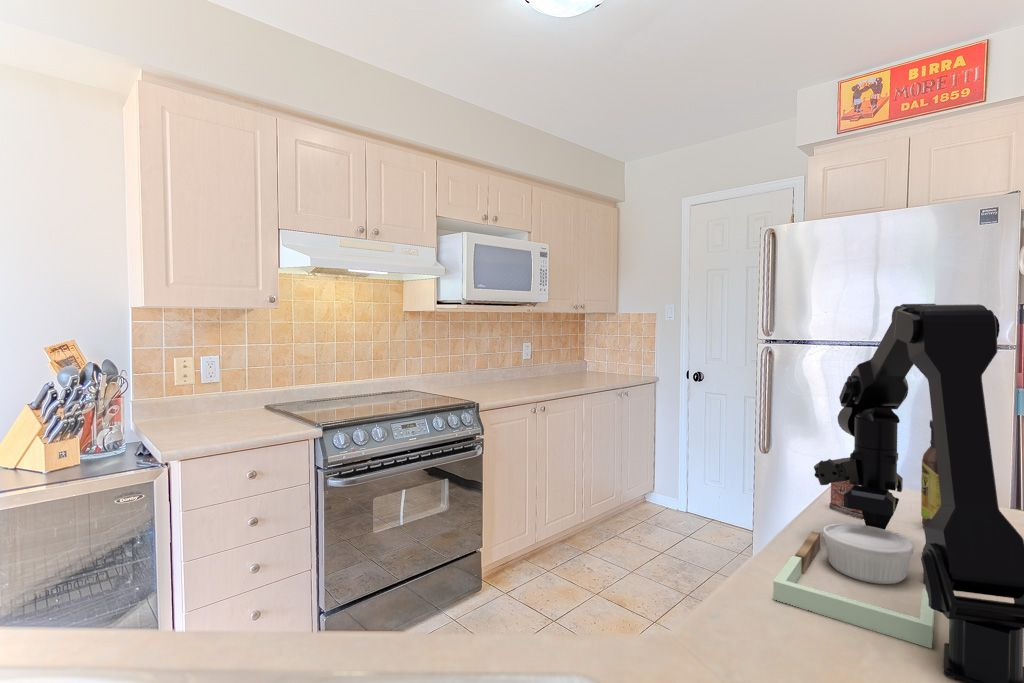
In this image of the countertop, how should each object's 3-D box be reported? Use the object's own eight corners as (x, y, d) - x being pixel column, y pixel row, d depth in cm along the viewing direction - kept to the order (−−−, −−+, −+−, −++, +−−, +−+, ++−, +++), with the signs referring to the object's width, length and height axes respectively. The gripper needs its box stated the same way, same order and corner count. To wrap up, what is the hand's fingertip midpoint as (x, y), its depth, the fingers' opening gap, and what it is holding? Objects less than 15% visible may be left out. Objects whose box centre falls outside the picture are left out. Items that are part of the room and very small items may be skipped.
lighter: (877, 518, 99) (877, 466, 99) (864, 521, 98) (865, 468, 98) (836, 505, 107) (837, 457, 107) (825, 507, 106) (826, 458, 106)
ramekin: (829, 548, 86) (830, 517, 86) (915, 569, 79) (915, 534, 79) (815, 572, 77) (815, 537, 77) (909, 597, 70) (910, 558, 70)
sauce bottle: (926, 521, 98) (928, 416, 98) (969, 531, 93) (972, 420, 93) (916, 529, 94) (918, 419, 94) (961, 540, 89) (963, 424, 89)
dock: (931, 648, 59) (932, 626, 59) (773, 599, 69) (773, 581, 69) (934, 610, 67) (935, 591, 67) (792, 572, 77) (792, 555, 77)
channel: (932, 608, 67) (932, 583, 67) (794, 571, 78) (795, 550, 77) (935, 575, 76) (935, 553, 76) (811, 546, 87) (812, 527, 87)
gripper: (828, 432, 97) (827, 515, 97) (807, 448, 83) (805, 546, 83) (903, 440, 90) (902, 530, 90) (893, 459, 76) (892, 566, 76)
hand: (874, 542), depth 85 cm, fingers closed
